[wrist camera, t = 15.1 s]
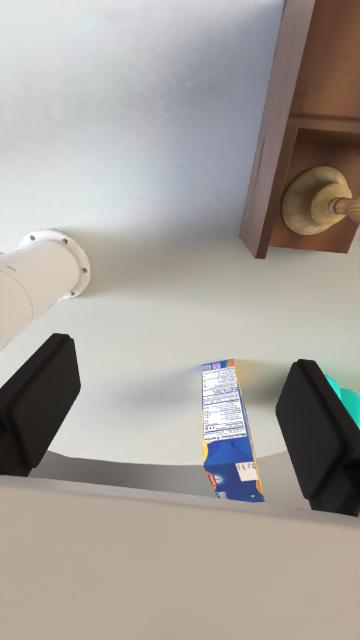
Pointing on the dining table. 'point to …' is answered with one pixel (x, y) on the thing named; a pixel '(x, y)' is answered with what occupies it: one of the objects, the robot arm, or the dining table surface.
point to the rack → (307, 122)
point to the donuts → (348, 400)
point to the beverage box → (228, 436)
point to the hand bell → (318, 201)
